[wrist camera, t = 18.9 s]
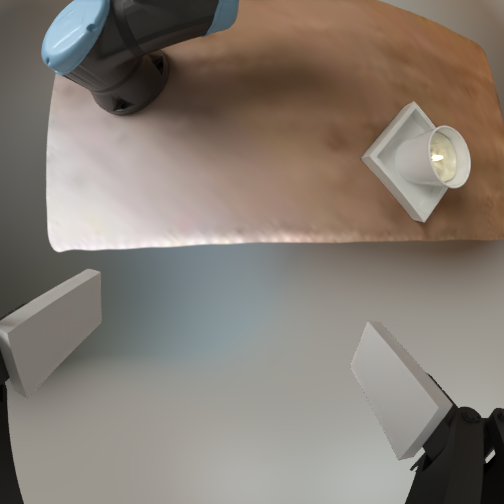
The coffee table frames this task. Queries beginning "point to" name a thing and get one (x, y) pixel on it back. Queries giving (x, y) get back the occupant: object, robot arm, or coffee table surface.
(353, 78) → the coffee table surface
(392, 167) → the lipped tray
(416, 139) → the candle holder
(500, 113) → the coffee table surface
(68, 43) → the robot arm
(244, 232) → the coffee table surface
